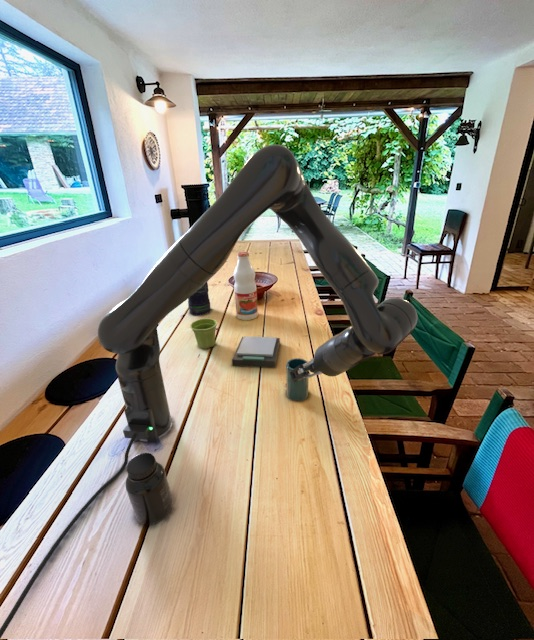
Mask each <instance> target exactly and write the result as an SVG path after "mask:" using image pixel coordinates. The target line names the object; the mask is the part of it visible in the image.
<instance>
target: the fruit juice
mask: <svg viewBox="0 0 534 640" xmlns="http://www.w3.org/2000/svg"><path fill="white" fill-rule="evenodd" d="M236 256H237V261H236V265H235V268H234V270H233V275H232V276H233V279H234V285H233V291H234V301H235V302H234V303H235V315H236V318H237V319H239V320H243V321H249V320H254V319H256V318H257V317H258V315H259V312H258V294H257V293H258V291H257V284H256V281H255V279H256V270H255V269H254V267H253V265H252V264H251V261H250V253H249V252H248V251H238V252H237V253H236Z"/></svg>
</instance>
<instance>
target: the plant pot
mask: <svg viewBox="0 0 534 640" xmlns="http://www.w3.org/2000/svg"><path fill="white" fill-rule="evenodd" d="M217 325H218V321H217V320H216V319H213V318H199V319H196V320H194V321H192V322H191V323H190V329H191V331H192V332H193V334H194V337H195V340H196V343H197V346H198V347H199V348H200V349H203V350H206V349H207V350H208V349H209V348H213V347H214V346H215V344H216V328H217Z"/></svg>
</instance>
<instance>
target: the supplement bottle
mask: <svg viewBox="0 0 534 640" xmlns="http://www.w3.org/2000/svg"><path fill="white" fill-rule="evenodd" d="M126 472H127V477H126V479H125V490H126V493H127V496H128V499H129V501H130V504H131V507H132V510H133V513H134V516H135V518H136V520H137V521H138V522H139V523H140V524H142V525H146V526H148V525H154V524H158V523H159V522H162V521H163V520H164V519H165V518H166V517H167V516H168V514H169V513H170V512H171V510H172V507H173V496H172V491H171V488H170V485H169V481H168V477H167V473H166V470H165V467H164V466H163V465H162V464H160V463H159V462H157V459H156V457H155V455H154V454H153V453H150V452H142V453H139V454H136V455H134V456H133V457H132V458H131V459H130V460H128V462H127V465H126Z"/></svg>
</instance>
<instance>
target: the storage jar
mask: <svg viewBox="0 0 534 640" xmlns="http://www.w3.org/2000/svg"><path fill="white" fill-rule="evenodd" d="M187 302H188V303H187V304H188V305H187V306H188V311H189V314H190V315H191V316H196V317H197V316H205V315H208V314H210V313H211V309H212V308H211V301H210V297H209V283H208V281H207V282H206V283H205V284H204V285H203V286H202V287H201V288H199V289H198V290H197V291H196V292H195V293H194V294H193V295H191V296H190V297H189V298H188V299H187Z"/></svg>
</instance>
